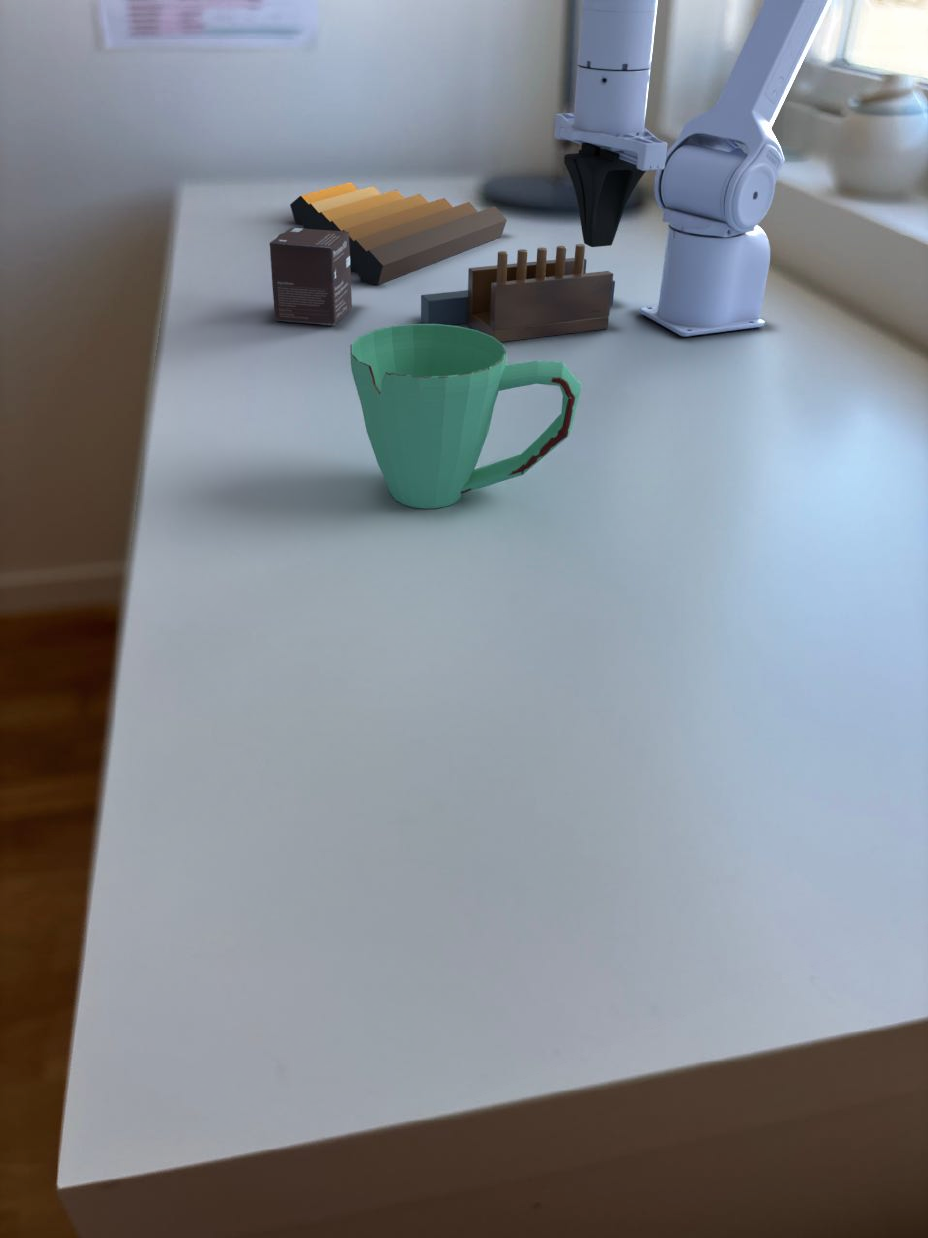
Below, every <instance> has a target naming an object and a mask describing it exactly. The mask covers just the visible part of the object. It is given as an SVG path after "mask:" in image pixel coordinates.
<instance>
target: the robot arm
mask: <svg viewBox="0 0 928 1238" xmlns="http://www.w3.org/2000/svg"><path fill="white" fill-rule="evenodd" d="M658 1H659V0H581V14H580V26H579V38H578V39H579V40H578V54H577V67H576V68H577V69H576V80H575V93H574V108H573V109H574V110H573V112H569V113H566V112H565V113H555V119H554V120H555V123H554V139H556V140H560V141H564V140H565V141H566V140H567V141H569V142H573V143H576V144H578V145H581V147H580V149H579V150H578V152H575V153H566V154H564V157H563V163H564V166H565V168H566V169H567V172H568V174H569V177H570V179H571V182H572V185H573V189H574V193H575V196H576V197H575V198H576V201H577V207H578V212H579V217H580V218H579V219H580V229H581V233H582V239H583V244H584V245H585V246H586V245H587V246H588V247H591V248H598V247H610V246H612V245H613V243H614V240H615V237H616V236H617V235H616V234H617V231H618V228H619V226H620V224H621V223H620V222H621V220H622V217H623V214H624V212H625V208H626V207H627V204H628V202H629V200H630V198H631V196H632V193H634V191H635V189H636V187H637V185H638V183H639V182H640V180H641V179H642V177H643V176H644V175H645V173H646V172H647V171H655V174H654V180H653V181H654V182H653V193H654V198H655V201H656V204H657V206H658V207H659V208H660V209H661V210H662V211H663V214H662V222H663V223H667V224H668V226H667V227H668V228H667V233H666V242H665V248H664V249H665V250H664V257H663V265H662V273H661V283H660V290H659V297H658V298H659V299H658V305H653V306H651V305H650V306H642V307H639V313H640V314H641V315H643V316H645V317H646V318H648V319H649V320H652V321H654V322H656V323H657V324H659V325H661V326H662V327H663V328H666V329H668V330H670V331H671V332H673V333H675V334H677V335H679V336H680V337H692V336H699V335H700V336H701V335H710V334H715V333H716V334H717V333H724V332H732V331H738V330H748V329H754V328H762V327H764V326H765V324H766V322H765V320H764V319H761V316H762V309H763V304H764V303H763V302H764V297H765V291H766V285H767V281H768V280H767V279H768V275H769V274H768V273H769V268H770V264H771V263H770V262H771V246H770V242H769V239H768V236H767V234H766V233H765V231H764V230H763V229H762V227H760V226H759V224H760V223H761V221H763V219H764V218H765V217H766V215H767V214H768V212H769V210H770V208H771V206H772V203H773V200H774V197H775V191H776V184H777V180H778V177H779V174H780V172H781V170H782V167H783V164H784V163H785V156H784V154H783V153H784V152H783V150H782V146H781V145H780V143H779V141H778V139H777V138H776V137H777V136H776V135H775V133H774V132H773V130H772V127H773V125H774V123H775V120H776V119H777V117H778V115H779V113H780V110H781V109H782V106H783V105H784V102H785V100H786V98H787V95H788V93H789V91H790V90H791V87H792V85H793V83H794V81H795V79H796V76H797V74H798V72H799V70H800V69H801V66H802V64H803V62H804V60H805V57H806V56H807V53H808V51H809V49H810V48H811V45H812V43H813V41H814V39H815V37H816V34H817V32H818V31H819V28H820V26H821V24H822V22H823V20H824V17H825V15H826V14H827V11H828V9H829V7H830V5H831V3H832V1H833V0H764V1H763V2H762V5H761V7H760V9H759V11H758V13H757V16H756V18H755V19H754V22H753V24H752V26H751V29H750V30H749V33H748V34H747V37H746V39H745V41H744V44H743V46H742V47H741V50H740V52H739V55H738V56H737V59H736V61H735V63H734V65H733V66H732V70H731V72H730V74H729V76H728V78H727V80H726V83H725V85H724V86H723V89H722V91H721V93H720V96H719V98H718V100H717V102H716V104H715V105H714V106H712V107H711V108H709V109H707V110H705V111H704V112H702V113H700V114H699V115H697V116H694V117H693V118H692V119H690V120H688V121H687V122H686V123H684V125H683V126H682V129H681V132H680V134H679V136H678V137H677V139H676V140H675V142H674V143H673V144H672V145H671V146H670V147H669V148H668V142H667V141H663V140H661V139H659V138H658V137H657V136H655V135H654V134H653V133H651V131H649V130H648V129H647V128H646V127H645V125H646V124H645V123H646V117H647V116H646V115H647V107H648V98H649V97H648V95H649V85H650V76H651V67H652V58H653V49H654V39H655V30H656V21H657V12H658Z"/></svg>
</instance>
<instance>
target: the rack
mask: <svg viewBox="0 0 928 1238" xmlns="http://www.w3.org/2000/svg"><path fill="white" fill-rule="evenodd" d="M585 253H586V244H584V243H576V244H575V249H574V257H570V258H567V257H566V256H567V246H564V245H557V246H556V250H555V259H548V260H547V257H548V249H547V248H546V247H537V249H536V261H528V254H529V253H528V250H527V249H521V248H520V249H518V250H517V254H516V255H517V257H516V263H508V258H509V257H508V255H509V253H508V252H507V251H505V250H500V251H498V252H497V261H496V263H497V264H496V265H487V266H475V267H468V270H467V271H468V272H467V273H468V275H467V276H468V277H467V290H468V306H467V311H468V312H467V324H468V325H469V326H470V327H472V329H474V330H478V331H480V332H483V333H485V334H488V335H490V336H493V337H494V338H496V339H497V340H498V341H499V342H501V343H503V342H512V341H520V340H527V339H536V338H543V337H550V336H551V337H552V336H559V335H566V334H567V335H569V334H577V333H583V332H592V331H600V330H607V329H608V328H609V319H610V311H611V306H610V302H611V292H612V282H613V280H614V273H613V272H611V271H610V270H603V271H593V272H586V271H587V261H588V260H587V259H586V258H585V255H586V254H585Z"/></svg>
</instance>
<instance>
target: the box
mask: <svg viewBox="0 0 928 1238" xmlns="http://www.w3.org/2000/svg"><path fill="white" fill-rule="evenodd" d="M269 253H270V254H269V255H270V270H271V284H272V285H271V286H272V297H273V313H274V320H275V321H277V322H278V321H279V322H288V323H300V324H312V325H313V324H314V325H322V326H335V325H337V324H338V323H339V322H340V321H341V320H342V319H343V318H344V317H345V316H346V315H347V314H348V313H349V311H351V309H352V308H353V299H352V298H353V297H352V296H353V295H352V273H351V272H352V271H351V269H350V246H349V232H344V231H330V230H315V229H304V228H303V227H302V228H301V227H300V228H298V227H295V228H294V227H292V228H289V229H288V230H286V231H284V232H282V233H280V234H278V235H277V236H276V238H274V239H273V240H271V241H270V242H269Z"/></svg>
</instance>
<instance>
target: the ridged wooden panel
mask: <svg viewBox="0 0 928 1238" xmlns="http://www.w3.org/2000/svg"><path fill="white" fill-rule="evenodd" d="M289 206H290V210H291V213H292V216H293V220H294V223H295V224H298V225H302V228H303V229H315V230H330V231H344V232H349V246H350V269H351V272H355V273H358V276H359V279H360V282H362V283H368V284H371V285H376V286H379V285H381V284H384V283H386V282H387V283H388V282H389V281H392V280H395V279H398V278H400V277H403V276H404V275H407V274H410V273H412V272H415V271H418V270H420V269H422V268H426V267H427V266H428V267H429V266H430V265H433V264H435V263H438V262H441V261H443V260H445V259H448V258H450V257H451V258H452V257H453V256H456V255H459V254H461V253H464V252H466V251H470V250H471V249H474V248H476V247H479V246H482V245H484V244H487V243H489V242H492V241H494V240H497V239H500V238H502V235H503V233H504V230H505V227H506V224H507V221H508V219H507V218H506V217H505V216H504V215H503V213H501V211H500V210H499V209H498V208H497V207H496V206H495V205H494V206H492V207H488V208H485V209H481V210H480V211H478V209H476V208H475V207H474V206H473V204H472V203H471V202H470V201H467V202H465V203H461V204H459V205H455V206H453V205H452V204H451V203H450V202H449V201H448V200H447V199H446V198H445V197H442V198H439V199H436V200H433V201H430V202H429V201H428V200H427V199H426V198H425V197H424V196H423V195H422V194H421V193H418V194H415V195H411V196H408V197H404V196H403V195H402V194H401V192H399V190H398V189H394V190H391V191H386V192H384V193H381V192H380V191H379V190H378V189H377V187H376V186H374V185H372V186H368V187H367V186H366V187H365V188H360V189H358V188H357V186H356V185H355V184H354V183H353V182H352V181H349V182H346V183H342V184H338V185H335V186H330V187H328V188H324V189H320V190H316V191H312V192H308V193H305V194H301V195H300V196H298V197H297V198H296V199H295V200H294V201H292V202H291V203H290V204H289Z"/></svg>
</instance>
